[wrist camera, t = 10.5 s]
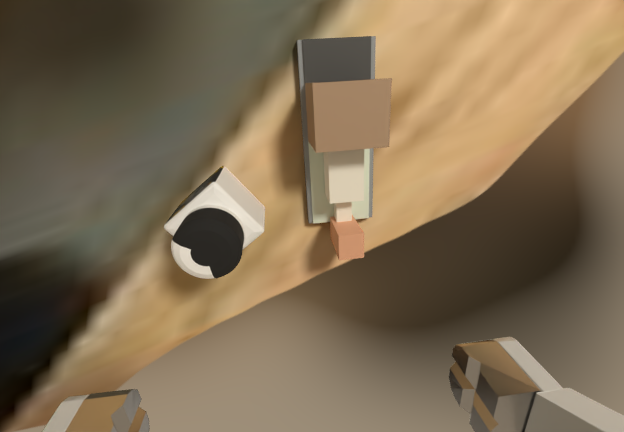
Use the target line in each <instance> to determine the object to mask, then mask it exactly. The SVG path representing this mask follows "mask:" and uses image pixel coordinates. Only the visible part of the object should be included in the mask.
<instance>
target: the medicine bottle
mask: <svg viewBox="0 0 624 432" xmlns="http://www.w3.org/2000/svg"><path fill="white" fill-rule="evenodd" d="M264 221H265V207H264V205H263V204H262V203H261V202H260V201H259V200H258V199H257V198H256V197H255V196H254V195H253V194H252V193H251V192H250V191H249V190H248V189H247V188H246V187H245V186H244V185H243V184H242V183H241V182H240V181H239V180H238V179H237V178H236V177H235V176H234V175H233V174H232V173H231V172H230V171H229V170H228V169H227V168H226V167H225V166H222V167H220V168H219V169H218V170H217V171H216V172H215V173H214V174H212V175H211V176H210V177H209V178H208V179H207V180H206V181H205V182H204V183H202V184H201V185H200V186H199V187H198V188H197V189H196V190H195V191H194V192H192V193H191V194H190V195H189V196H188V197H187V198H186V199H185V200H183V201H182V202H181V204H180V205H179V206H178V208H177V209H176V210H175V212H174V213H173V214H172V216H171V217H170V218H169V220H168V221H167V222H166V224H165V225H164V229H165V230H166V231H167V232H169V233H170V234H171V235H172V236H173V239H172V243H171V251H172V255H173V258H174V260H175V261H176V263H177V264H178V265H179V267H180V268H181V269H183V270H184V271H185V272H187V273H188V274H190V275H192V276H195V277H199V278H204V279H213V278H219V277H222V276H224V275H226V274H228V273H230V272H231V271H232V270H233V269H234V268H235V267H236V266H237V265H238V263H239V261H240V259H241V255H242V250H243V249H244V248H245V247H247V246H248V245H249V244H250V243H251V242H253V241H254V240H255V239H256V238H257V237H259V236H260V235H261V234H262V233H263V232H264Z"/></svg>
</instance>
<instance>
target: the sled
mask: <svg viewBox="0 0 624 432" xmlns="http://www.w3.org/2000/svg"><path fill="white" fill-rule="evenodd" d="M323 157H324V181H325V195H326V197H327V199H328V201H329V203H330V204H333V203H334V216H333V217H330V230H331V240H332V243H333V246H334V248H335V251H336V253H337V256H338V258H339V260H346V259H355V258H364V232H363V231H362V229H361V228H360V226H359V224H358V223H357V221H356V220H355V218H354V216H353V215H352V202H354V201H364V149H359V150H346V151H334V152H323Z"/></svg>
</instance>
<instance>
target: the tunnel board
mask: <svg viewBox="0 0 624 432" xmlns="http://www.w3.org/2000/svg"><path fill="white" fill-rule="evenodd" d="M375 40H376V36H372V37H371V36H367V37H346V38H325V39H304V40H297V56H298V71H299V86H300V102H301V117H302V133H303V148H304V163H305V179H306V194H307V210H308V221H309V223H313V224H314V223H324V222H330V217H333V216H334V203H333V204H330V203H329V201H328V199H327V197H326V195H325V181H324V157H323V152H334V151H346V150H359V149H364V201H354V202H352V215H353V216H354V218H355V219H364V218H369V217H372V198H373V148H384V147H389V136H390V110H391V83H392V78H388V79H375Z"/></svg>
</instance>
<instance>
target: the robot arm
mask: <svg viewBox="0 0 624 432" xmlns="http://www.w3.org/2000/svg"><path fill="white" fill-rule="evenodd" d="M452 357H453V358H454V360H455V361H456V362H455V363H454V364H453V365H452V366H451V367H450V373H449V380H450V385H451V390H452V392H453V394H454V397H455V399H456V400H457V402H458V404H459V406H460V407H462V408H463V409H464V410H466V411H467V412H469V413H470V425H471V426H472V428H473V430H474V431H475V432H624V416H623V415H621V414H619V413H617V412H615V411H613V410H611V409H610V408H607V407H606V406H604V405H602V404H600V403H598V402H596V401H594V400H592V399H590V398H588V397H586V396H584V395H582V394H580V393H578V392H576V391H575V390H573V389H571V388H562V387H561V386H560V385H559V384H558V383H557V382H556V381H555V379H554V378H553V377H552V376H551V375H550V374H549V373H548V372H547V371H546V370H545V369H544V368H543V367H542V366H541V365H540V364H539V363H538V362H537V361H536V360H535V359H534V358H533V357H532V356H531V355H530V354H529V353H528V352H527V351H526V350H525V349H524V347H523V346H522V345H521V344H520V343H519V342H518V341H517V340H515V339H514V338H512V337H505V338H498V339H492V340H483V341H476V342H469V343H463V344H457V345H455V346H454V348H453V352H452ZM140 402H141V397H140V394H139V392H138V390H137V389H136V390H135V389H131V390H122V391H113V392H104V393H95V394H88V395H80V396H71V397H68V398H67V399H65V400H64V401H63V402H62V403H61V404H60V405H59V407H58V408H57V410H56V411H55V413H54V414H53V416H52V417H51V419H50V420H49V422H48V423H47V425H46V426H45V428H44V429H43V431H42V432H149V418H148V416H147V413H146V411H144V410H143V409H141V408H139V407H138V406H139V404H140Z"/></svg>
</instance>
